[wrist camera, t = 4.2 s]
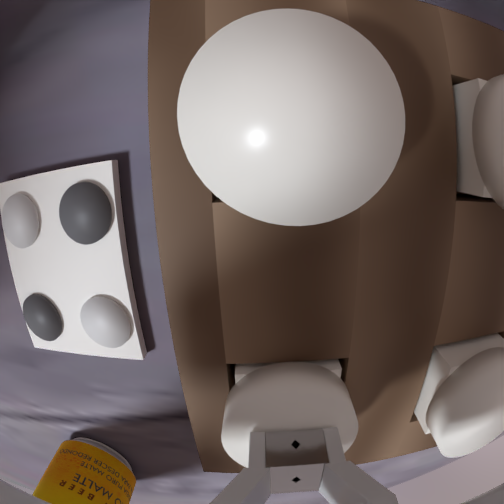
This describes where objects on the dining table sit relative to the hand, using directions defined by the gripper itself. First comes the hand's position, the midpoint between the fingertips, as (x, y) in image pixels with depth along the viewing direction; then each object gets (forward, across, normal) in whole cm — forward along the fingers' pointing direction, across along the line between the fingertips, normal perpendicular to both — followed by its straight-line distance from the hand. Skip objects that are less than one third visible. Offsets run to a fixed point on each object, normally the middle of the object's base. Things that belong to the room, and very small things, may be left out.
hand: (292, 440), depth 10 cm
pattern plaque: (+5, +10, -5) cm, 12 cm away
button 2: (+3, 0, -10) cm, 10 cm away
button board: (+5, -4, -5) cm, 8 cm away
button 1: (+4, 0, 0) cm, 4 cm away
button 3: (+3, -8, 0) cm, 8 cm away
